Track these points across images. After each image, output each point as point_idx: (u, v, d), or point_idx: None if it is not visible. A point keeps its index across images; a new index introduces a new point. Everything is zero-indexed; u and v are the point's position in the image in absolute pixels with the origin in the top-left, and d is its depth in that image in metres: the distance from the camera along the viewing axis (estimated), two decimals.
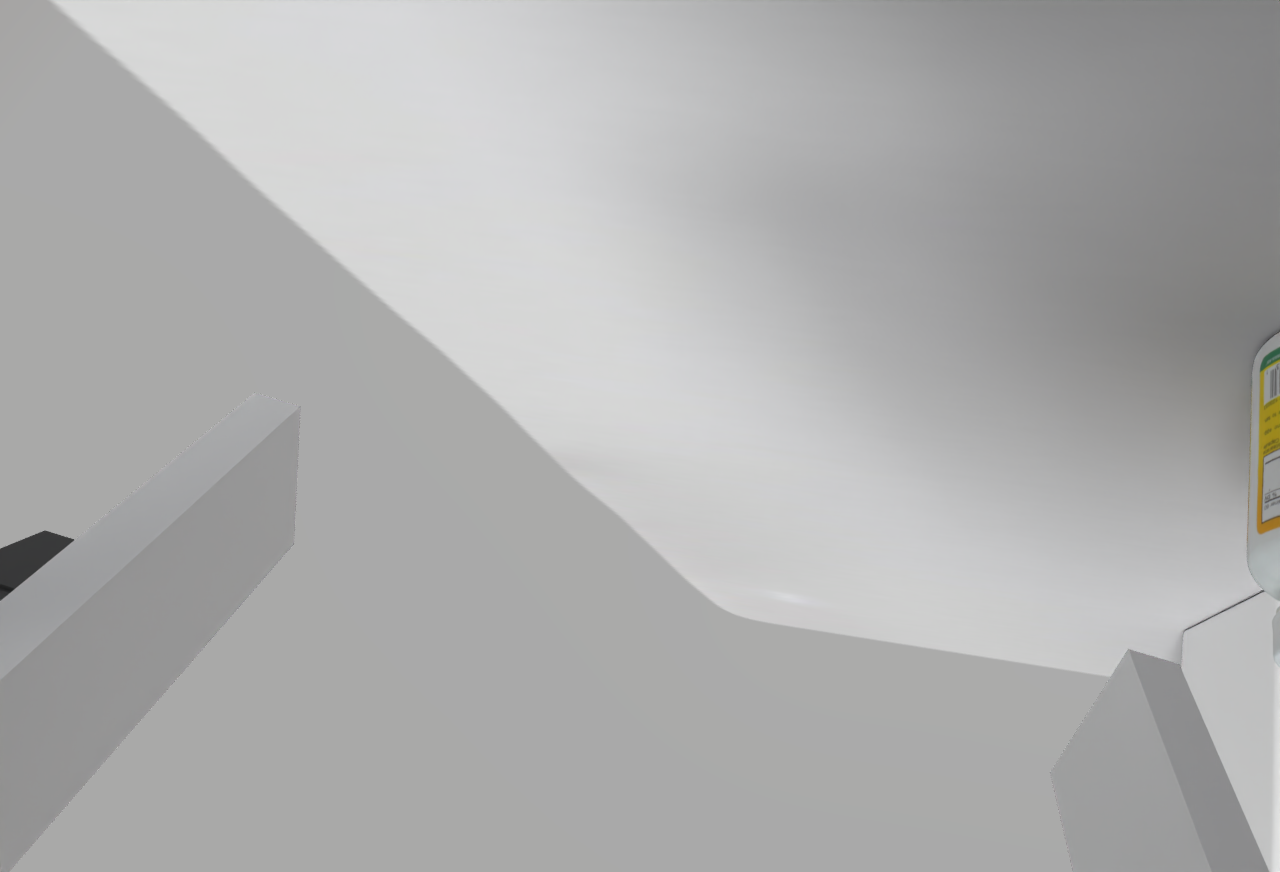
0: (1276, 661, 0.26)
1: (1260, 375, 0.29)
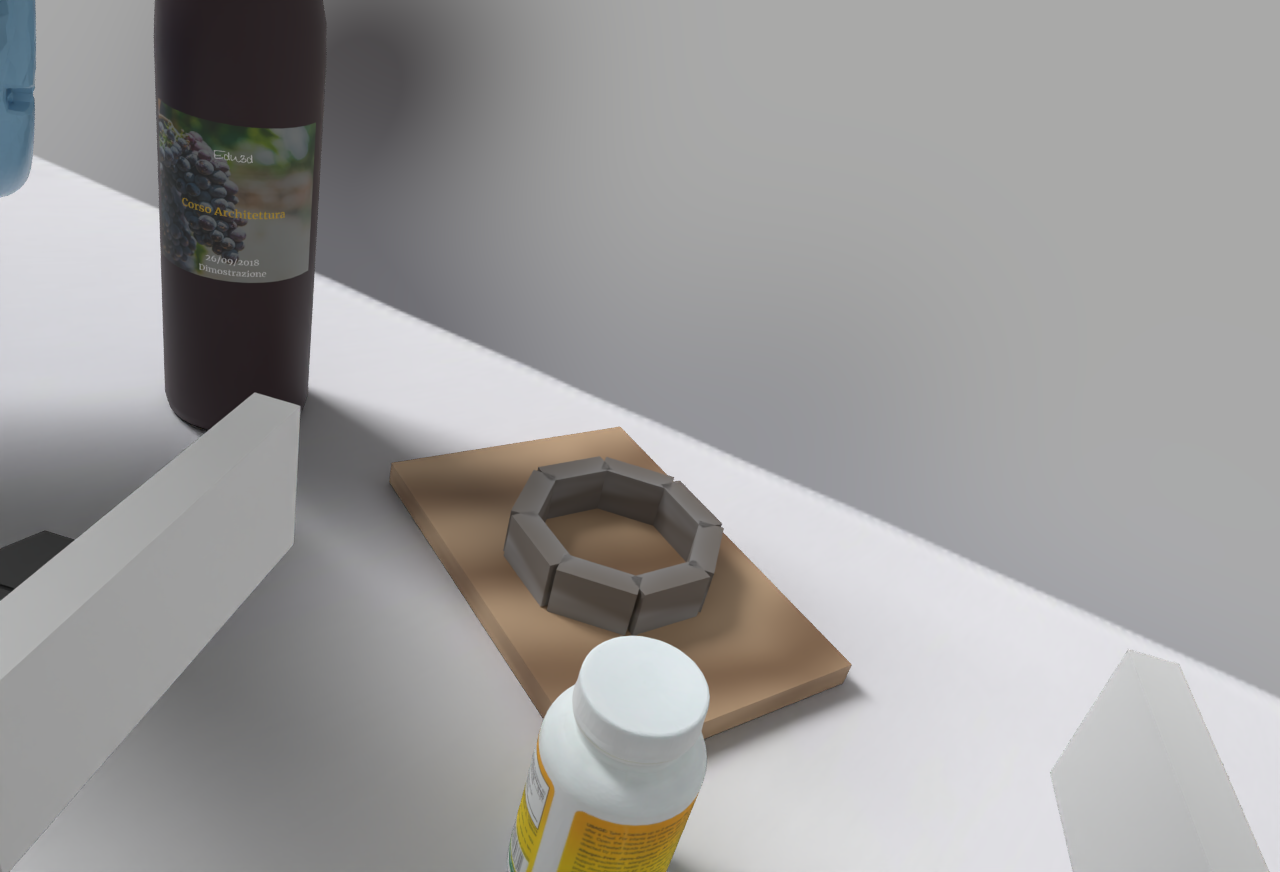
0: (623, 727, 0.28)
1: None
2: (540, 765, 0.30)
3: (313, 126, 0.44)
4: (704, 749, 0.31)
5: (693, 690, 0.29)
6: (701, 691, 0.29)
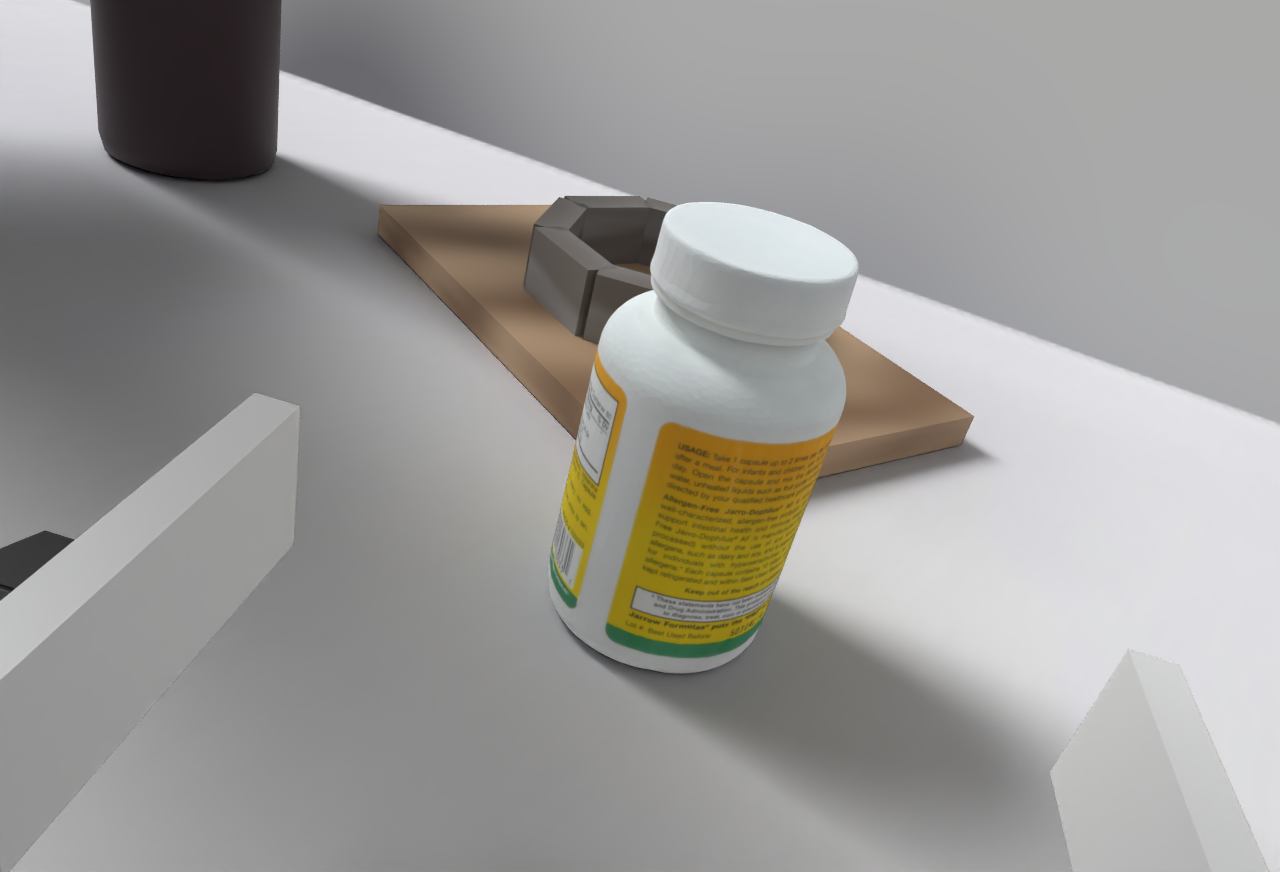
0: (739, 266, 0.18)
1: (578, 594, 0.22)
2: (602, 379, 0.20)
3: None
4: (842, 368, 0.21)
5: (833, 252, 0.19)
6: (845, 255, 0.20)
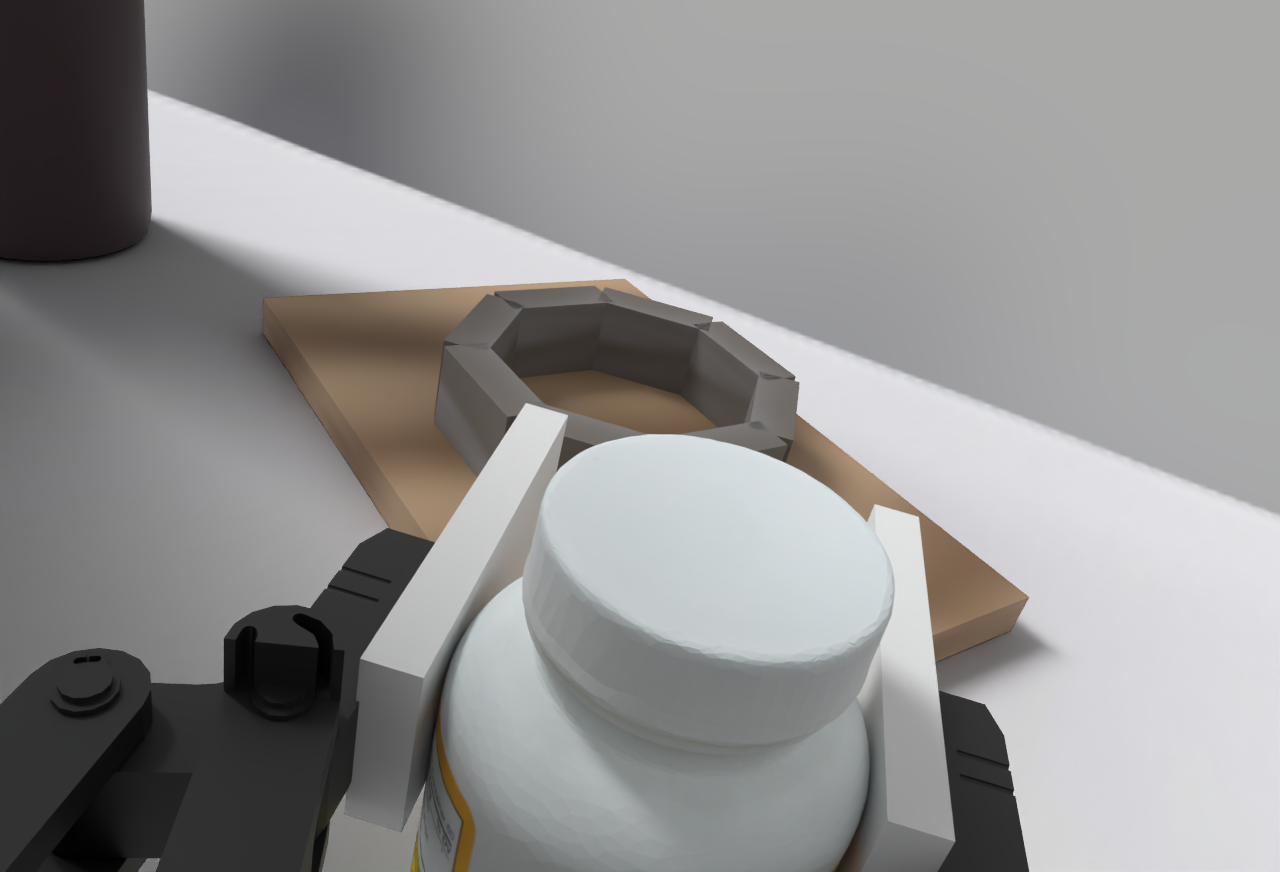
0: (669, 636, 0.09)
1: None
2: (440, 763, 0.11)
3: None
4: (862, 718, 0.12)
5: (848, 551, 0.11)
6: (869, 554, 0.11)
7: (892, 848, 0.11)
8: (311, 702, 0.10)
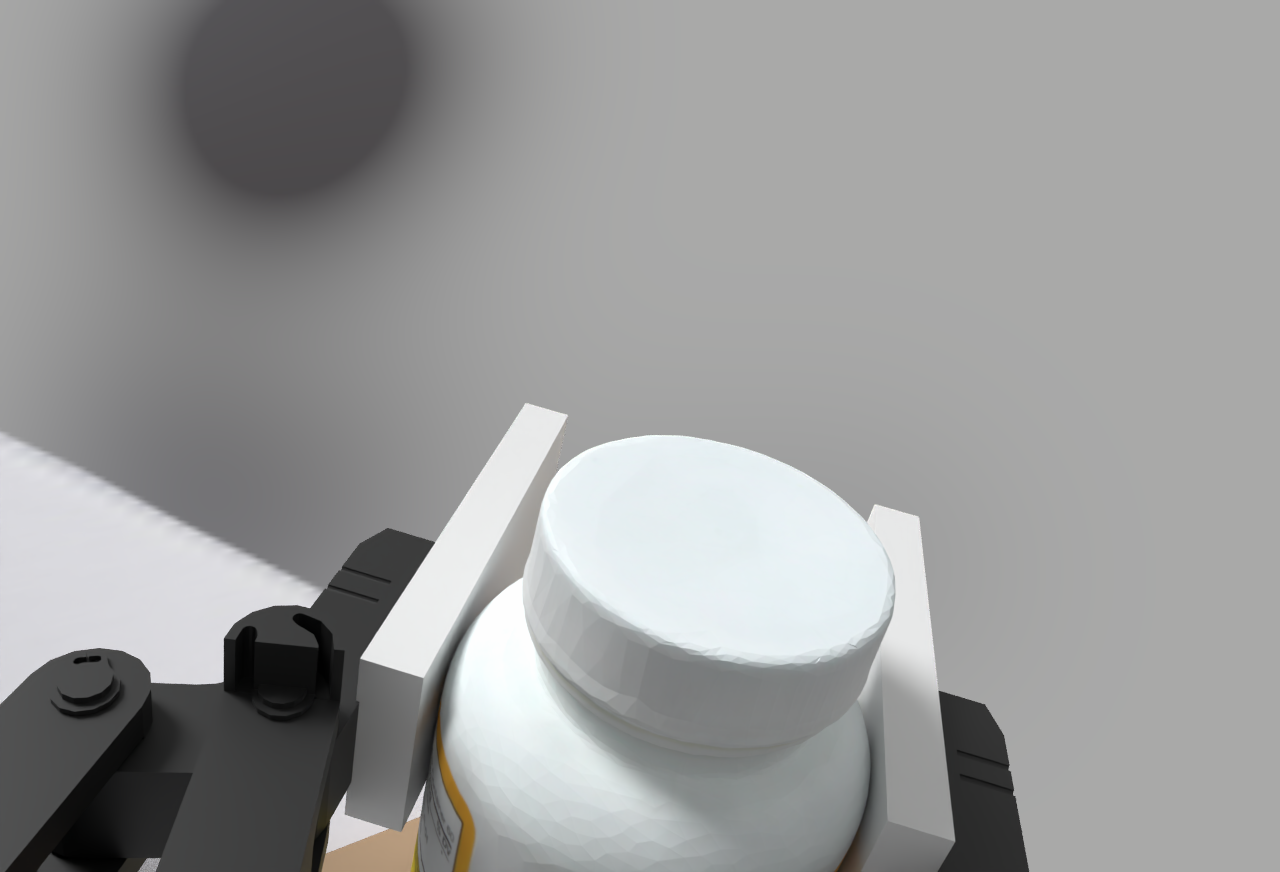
0: (669, 637, 0.09)
1: None
2: (440, 764, 0.11)
3: None
4: (863, 718, 0.12)
5: (849, 554, 0.11)
6: (870, 556, 0.11)
7: (892, 848, 0.11)
8: (311, 702, 0.10)
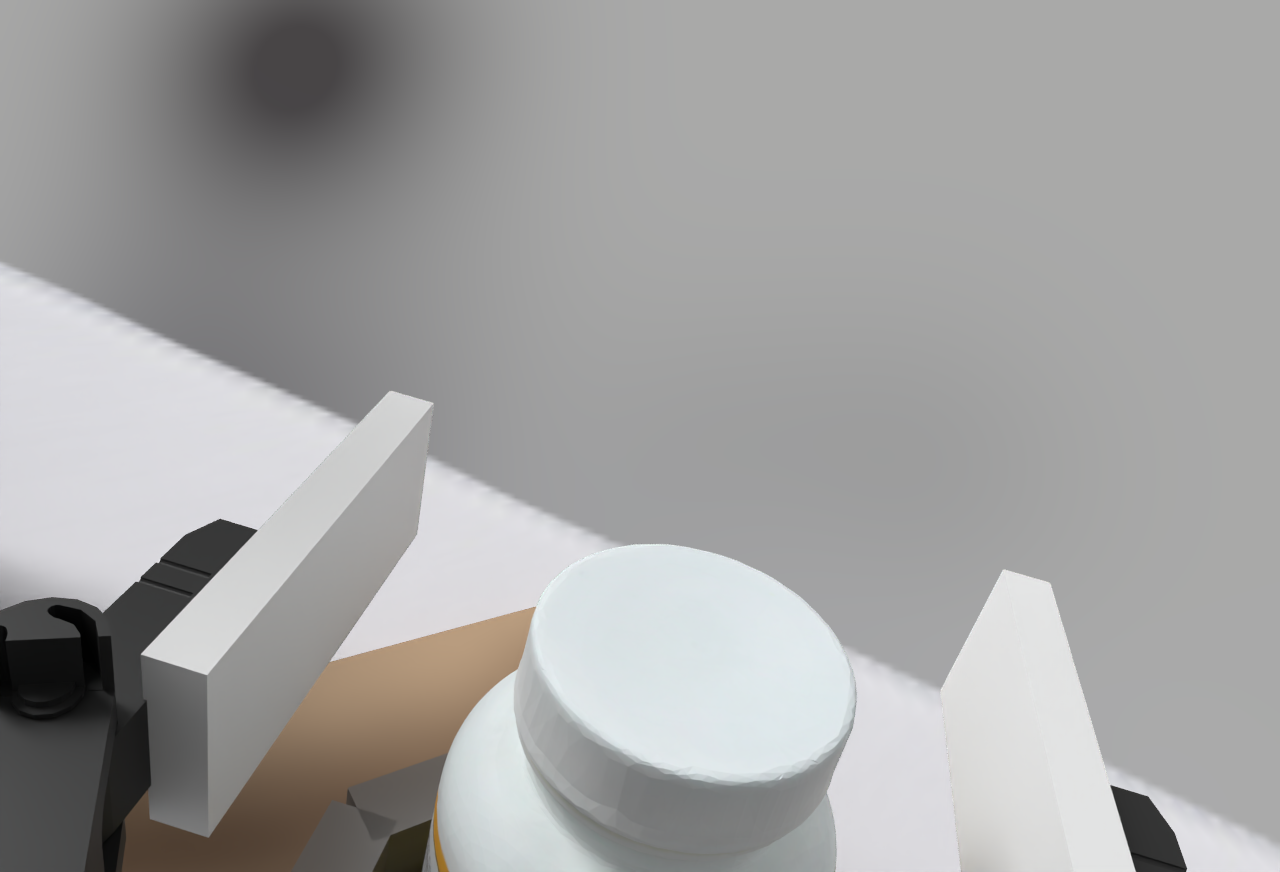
0: (646, 758, 0.10)
1: None
2: (437, 855, 0.12)
3: None
4: (830, 809, 0.13)
5: (814, 665, 0.12)
6: (834, 667, 0.12)
7: None
8: (82, 695, 0.10)
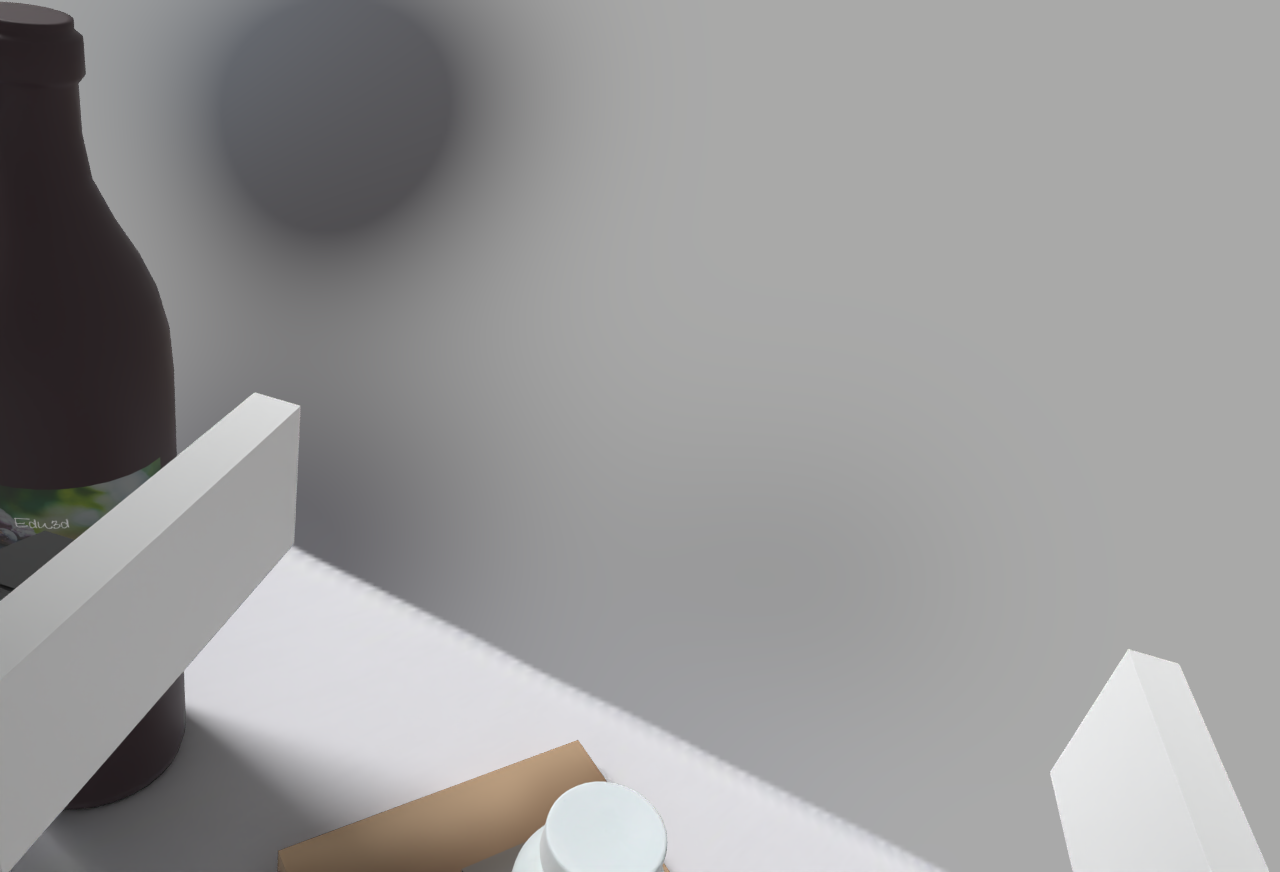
0: None
1: None
2: None
3: (155, 463, 0.34)
4: None
5: (652, 836, 0.32)
6: (659, 837, 0.32)
7: None
8: None
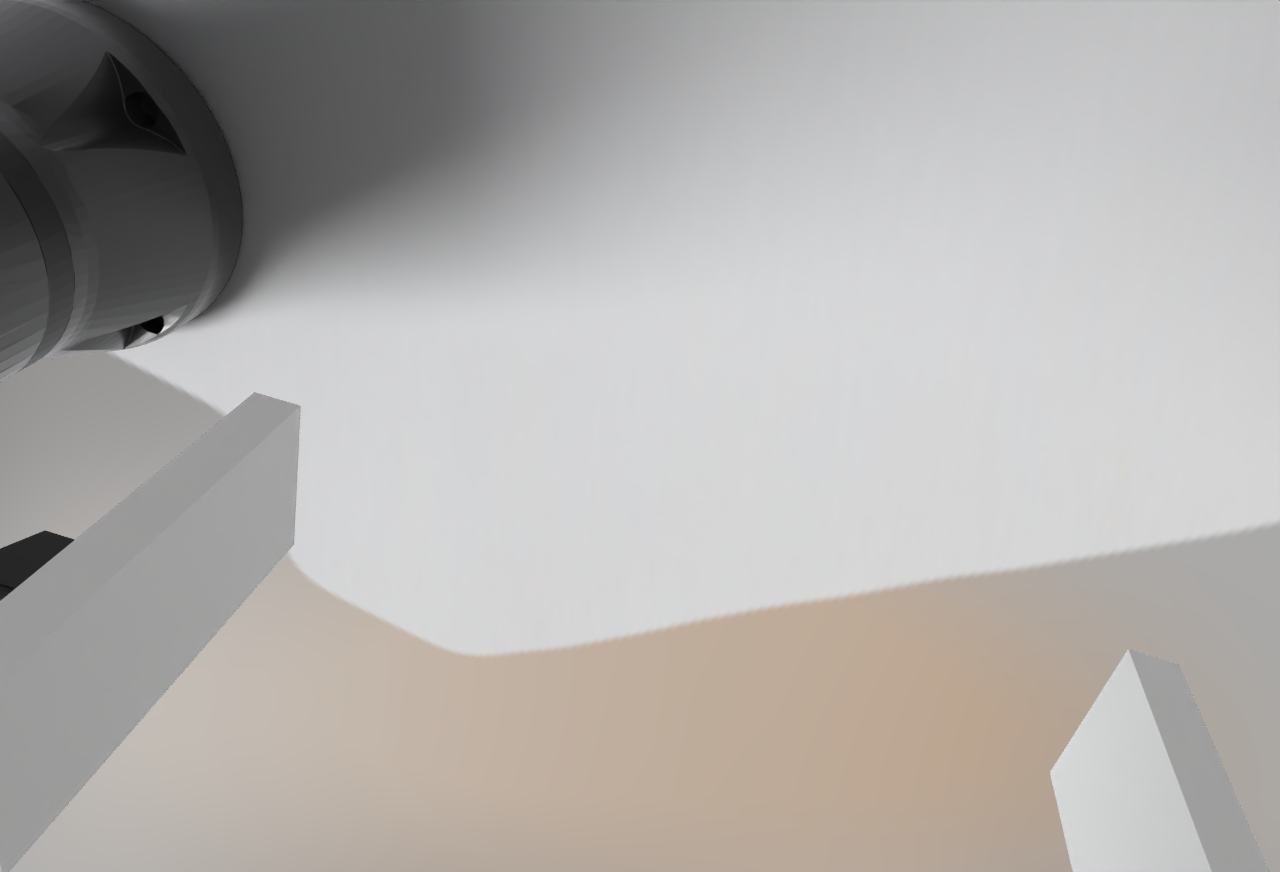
0: None
1: None
2: None
3: None
4: None
5: None
6: None
7: None
8: None
